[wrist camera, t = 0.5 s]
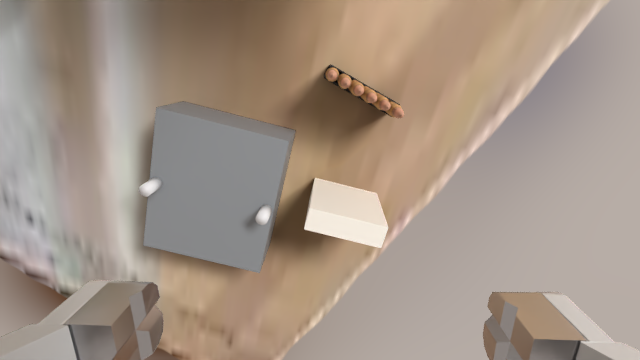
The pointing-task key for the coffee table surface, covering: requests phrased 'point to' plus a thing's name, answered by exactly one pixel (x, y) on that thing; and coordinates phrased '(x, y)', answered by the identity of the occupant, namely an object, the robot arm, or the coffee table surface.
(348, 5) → the coffee table surface
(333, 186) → the door panel
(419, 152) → the coffee table surface
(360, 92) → the ammunition clip
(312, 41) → the coffee table surface
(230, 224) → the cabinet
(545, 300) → the robot arm
